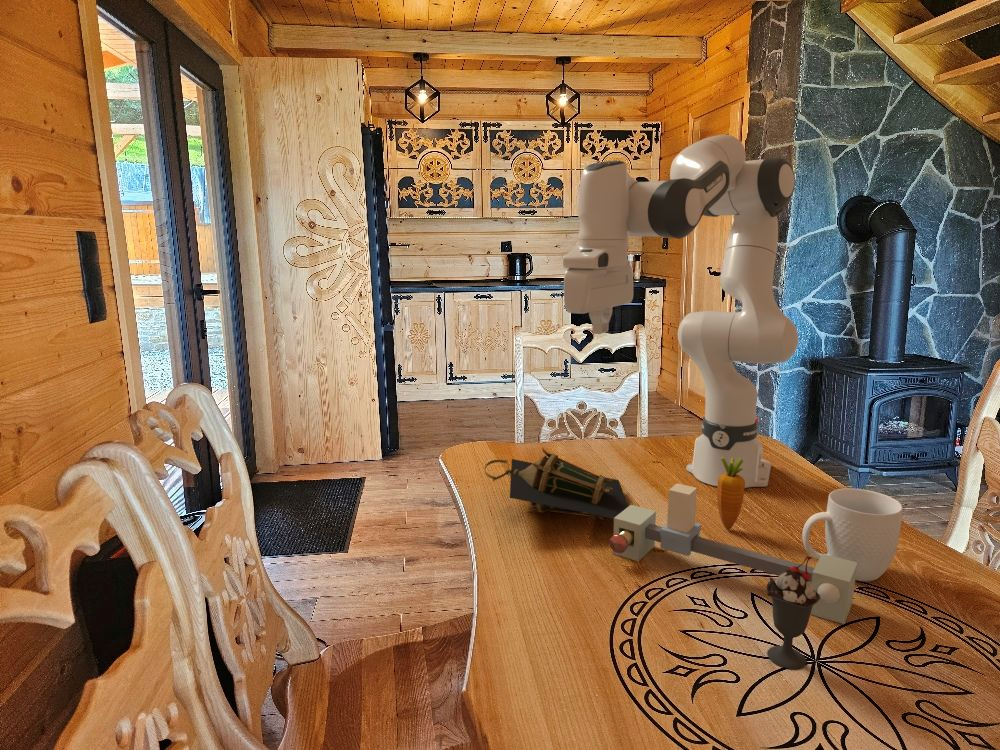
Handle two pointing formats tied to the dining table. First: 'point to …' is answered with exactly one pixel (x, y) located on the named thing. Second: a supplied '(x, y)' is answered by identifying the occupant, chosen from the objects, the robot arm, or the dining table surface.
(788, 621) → the sundae
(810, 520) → the mug
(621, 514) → the guide rail
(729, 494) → the carrot
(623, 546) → the cylinder
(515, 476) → the lantern
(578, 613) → the dining table surface
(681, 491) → the carriage
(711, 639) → the dining table surface
